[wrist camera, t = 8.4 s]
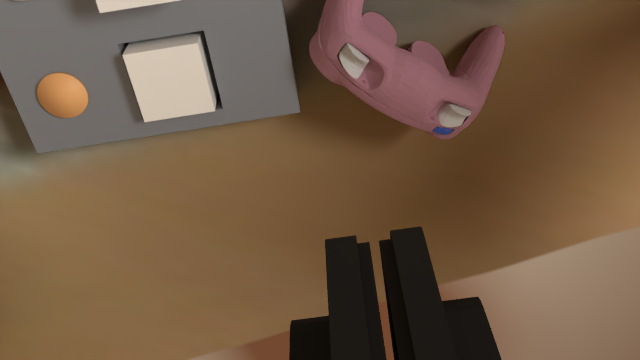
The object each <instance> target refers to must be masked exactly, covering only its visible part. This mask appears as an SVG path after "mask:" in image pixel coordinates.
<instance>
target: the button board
mask: <svg viewBox="0 0 640 360" xmlns="http://www.w3.org/2000/svg"><path fill="white" fill-rule="evenodd" d="M197 31H204V33H205V37H206V41H207V45H208V49H209V54H210V58H211V62H212V66H213V70H214V74H215V78H216V82H217V86H218V95H217V102H216V108H215V111H213V112H207V113H201V114H194V115H188V116H182V117H175V118H169V119H163V120H156V121H150V122H144V119H143V116H142V113H141V110H140V107H139V104H138V101H137V98H136V95H135V92H134V89H133V86H132V83H131V80H130V77H129V74H128V71H127V68H126V65H125V62H124V59H123V56H122V55H123V53H124V51H125V49H126V47H127V46H128V44H129V42H134V41H140V40H147V39H153V38H159V37H166V36H172V35H178V34H185V33H191V32H197ZM0 72H1V74H2V76H3V78H4V81H5V83H6V85H7V87H8V89H9V92H10V94H11V96H12V98H13V101H14V103H15V105H16V107H17V109H18V112H19V114H20V116H21V118H22V121H23V123H24V125H25V127H26V129H27V132H28V134H29V136H30V138H31V141H32V143H33V145H34V147H35V149H36V152H37V154H39V153H45V152H52V151H58V150H65V149H71V148H77V147H84V146H90V145H96V144H103V143H109V142H116V141H122V140H128V139H135V138H141V137H147V136H154V135H160V134H167V133H173V132H179V131H186V130H192V129H198V128H205V127H211V126H218V125H224V124H230V123H237V122H243V121H249V120H256V119H262V118H269V117H275V116H281V115H288V114H294V113H300V105H299V96H298V89H297V83H296V77H295V71H294V65H293V59H292V54H291V48H290V42H289V36H288V30H287V24H286V18H285V12H284V6H283V0H180V1H173V2H167V3H161V4H154V5H148V6H142V7H135V8H129V9H123V10H117V11H110V12H104V13H100V12H99V9H98V6H97V3H96V0H0Z"/></svg>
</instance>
